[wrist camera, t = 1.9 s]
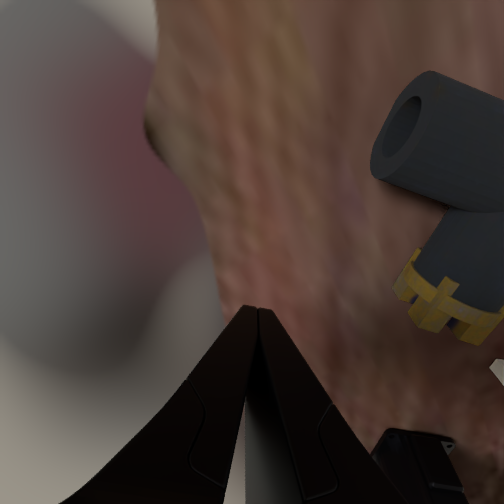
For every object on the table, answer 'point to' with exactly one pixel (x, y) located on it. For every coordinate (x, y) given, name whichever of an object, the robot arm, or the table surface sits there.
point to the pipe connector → (450, 201)
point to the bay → (498, 369)
